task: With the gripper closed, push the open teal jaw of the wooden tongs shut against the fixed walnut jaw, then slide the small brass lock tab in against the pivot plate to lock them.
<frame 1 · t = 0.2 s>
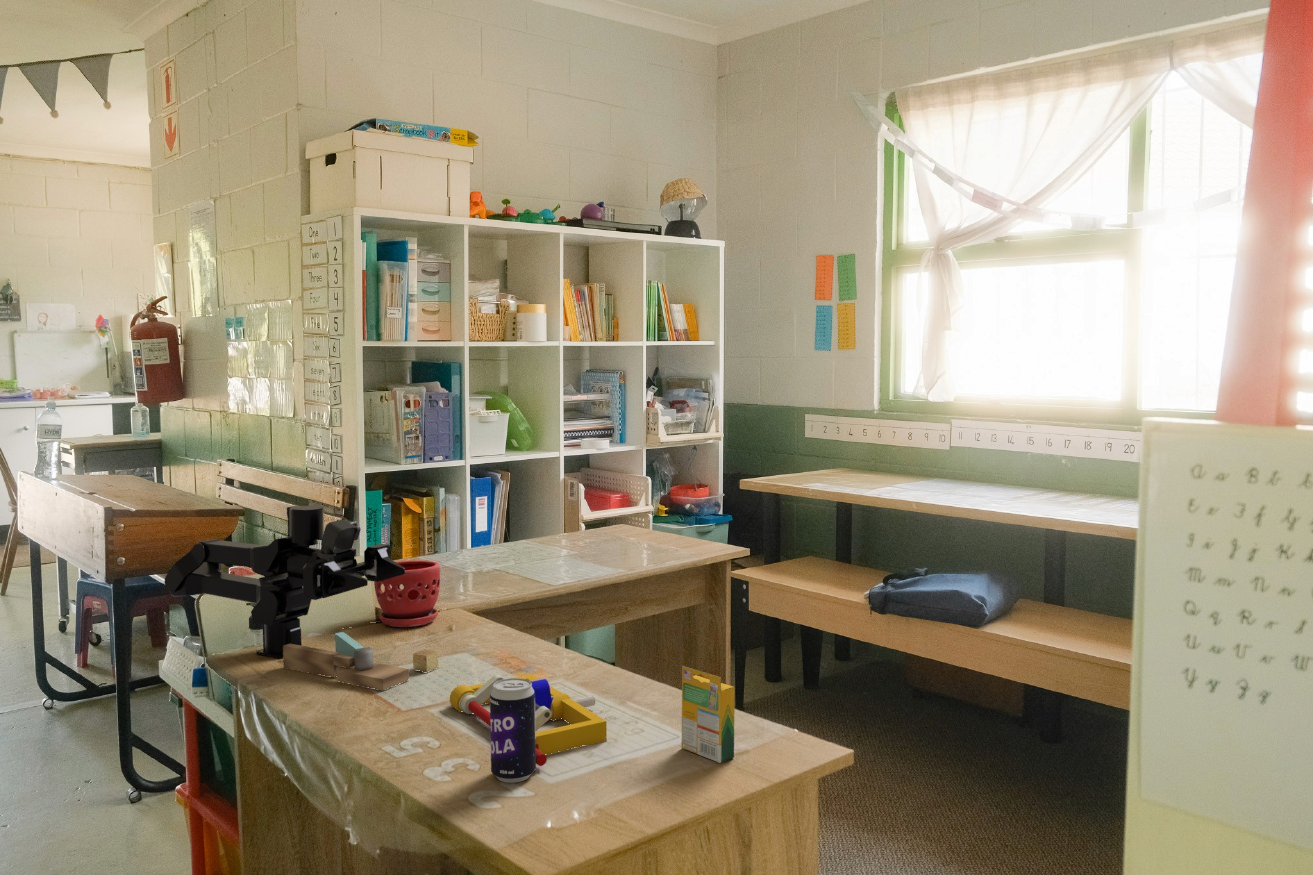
hand: (386, 576, 167), 16 cm above the table, tool horizontal, fingers open, 9 cm apart
mechanical clamp: (542, 728, 144), on the table
crayon box: (707, 754, 133), on the table
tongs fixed: (364, 679, 164), on the table
plant pot: (408, 623, 201), on the table
jaw: (352, 653, 172), point 2 cm above the table, hinge at 28.0°
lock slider: (425, 661, 169), point 1 cm above the table, slide at 0.0 cm
beverage can: (513, 777, 125), on the table
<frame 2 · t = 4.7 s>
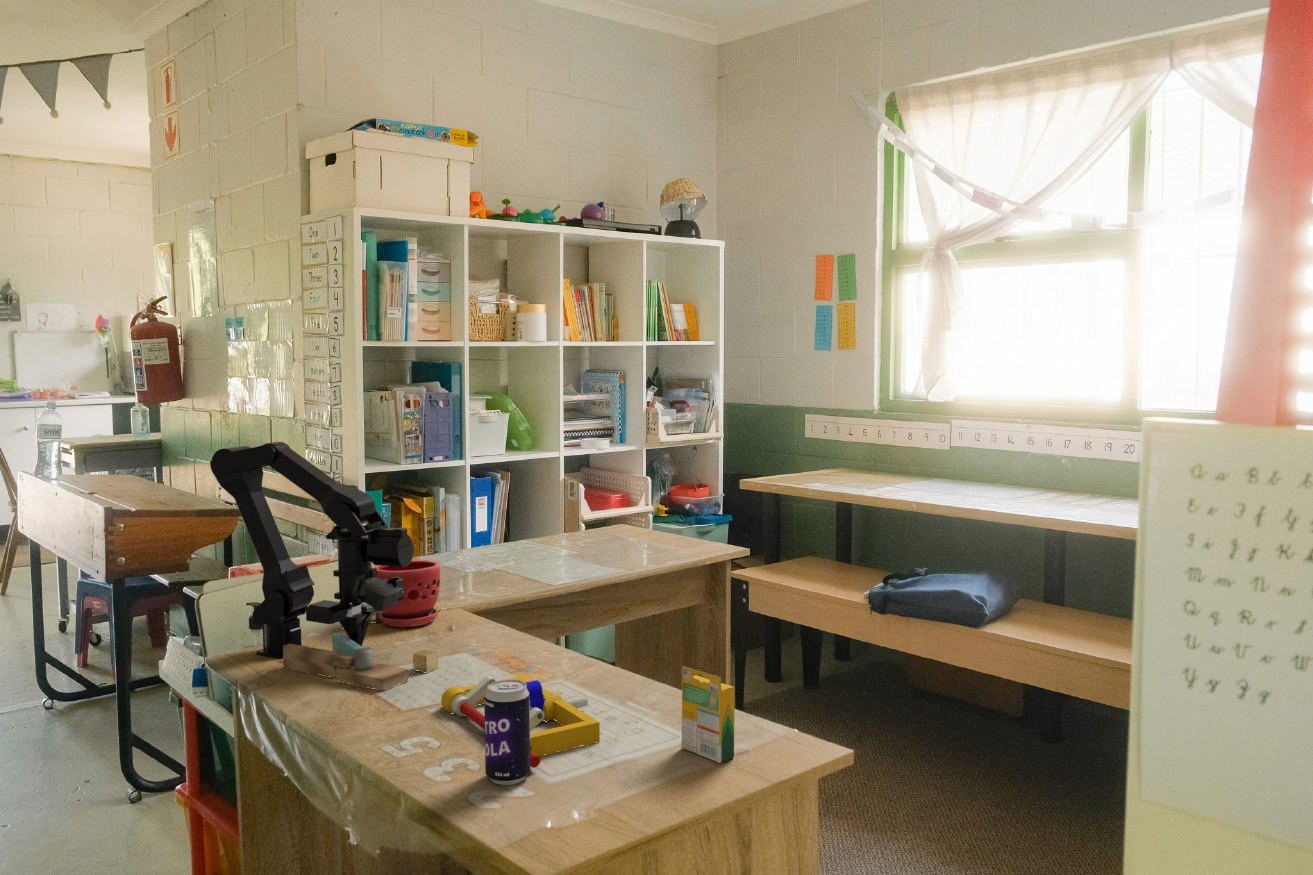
hand: (357, 649, 176), 2 cm above the table, tool pointing down, fingers closed
mechanical clamp: (535, 729, 143), on the table
jaw: (351, 653, 172), point 2 cm above the table, hinge at 26.2°, touching gripper
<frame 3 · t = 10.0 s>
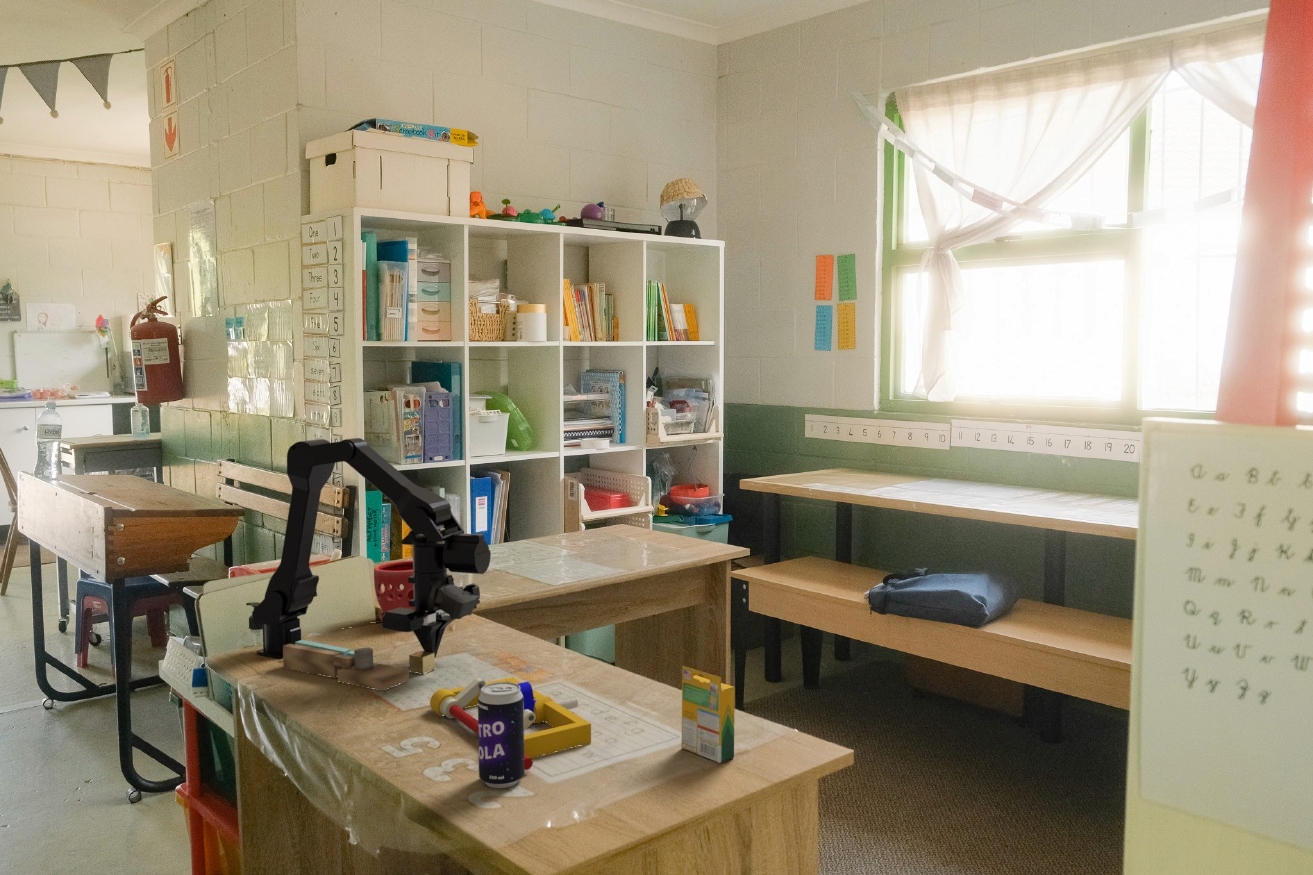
hand: (431, 658, 171), 1 cm above the table, tool pointing down, fingers closed
mechanical clamp: (525, 731, 142), on the table
jaw: (329, 658, 169), point 2 cm above the table, hinge at 2.4°
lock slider: (422, 662, 168), point 2 cm above the table, slide at 1.0 cm, touching gripper
beverage can: (501, 782, 124), on the table
everything else where it was.
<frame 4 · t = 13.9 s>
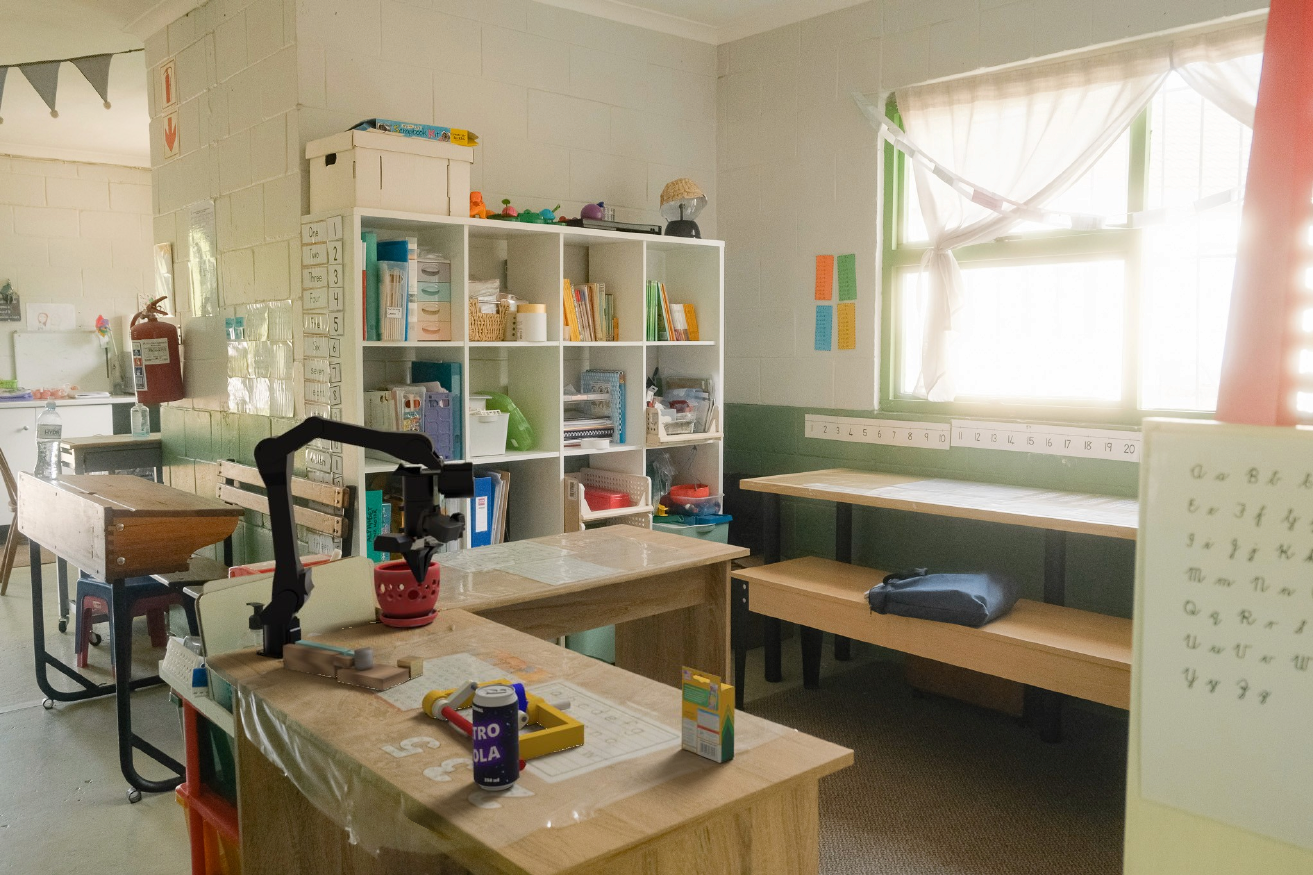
hand: (420, 582, 183), 12 cm above the table, tool pointing down, fingers closed
mechanical clamp: (518, 733, 142), on the table, touching beverage can
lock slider: (410, 667, 166), point 2 cm above the table, slide at 3.9 cm
beverage can: (496, 784, 123), on the table, touching mechanical clamp
everything else where it was.
at the end: jaw at +2° (first picture: +28°); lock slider slide at 3.9 cm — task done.
